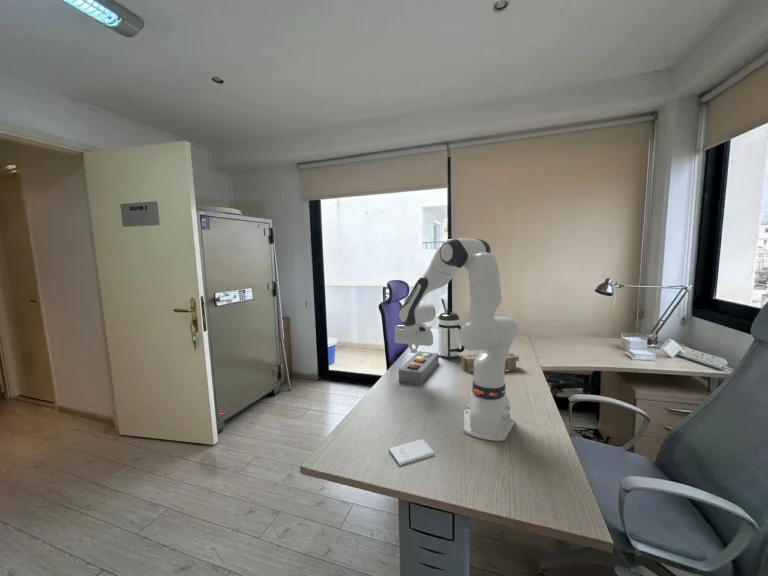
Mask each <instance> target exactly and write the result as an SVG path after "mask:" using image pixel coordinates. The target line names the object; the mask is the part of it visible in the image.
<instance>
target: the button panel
mask: <svg viewBox="0 0 768 576" xmlns="http://www.w3.org/2000/svg"><path fill="white" fill-rule="evenodd" d="M423 353H428V354H430V357H429V358H428V357H424V362H421V363H419V362H417V363H418V368H417V369H411V368H409V363H410V362H416V360H415V357H417V356H421V354H423ZM439 355H440V352H439V353H438V352H429V351H419V350H418V351H417V353H415V354H414V355H413V356H412V357H411V358H410V359H409V360H408V361H407V362H406V363H404V364H403V365H402V366H401V367H400V368H399V369H398V382H401V381H402V383H410V384H415V385H420V384H421V385H422V384H423V383H424V382H425V381H426V380H427V378H428V377H429V376H430V375H431V373H432V372H433V371H434V370H435V368H437V366H438V365H439V364H440V362H439V361H440V360H439V359H440V358H439V357H440V356H439Z"/></svg>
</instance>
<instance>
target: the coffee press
mask: <svg viewBox="0 0 768 576" xmlns="http://www.w3.org/2000/svg"><path fill="white" fill-rule="evenodd" d="M438 315H439V316H438V319H437V320H438V352H437V353H439V357H440V356H441V357H442V356H443V357H447V360H448V361H451V358H453V357H459V358H461V355H462V354H461V353H462V352H464V351H465V350H466V349H465V348H464V347H463V346H462V345H461V348H460V340H459V331H460V328H461V327H462V326H461V325H460V316H459V314H458V313H455V312H452V311H451V309H450V308H447V309H446V312H442V313H440V314H438ZM459 354H460V355H459Z"/></svg>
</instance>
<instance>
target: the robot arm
mask: <svg viewBox="0 0 768 576" xmlns="http://www.w3.org/2000/svg"><path fill="white" fill-rule="evenodd" d="M491 251H492V249H491V247H490V245H489V243H488V242H487V241H486V240H483V239H479V238H469V237H460V238H450V239H449V238H448V239H446V240H445V241H443V242H442V244H441V245H439V246H438V248H437V250H436V251H435V253H434V254H433V257H432V259H431V261H430V263H429V265H428V268H427V269H426V271H425V272H424V273H423V275H422V276H420V277H419V278H418V280H417V281H416V282H415V284H414V286H413V287H412V288H411V291H410V293H409V295H407V296H405V298H404V301H403V304H402V306H401V307H400V308H399V311H398V320H399V321H400V322H401V324H403V325H400V324H397V325H396V326H394V339H393V341H394V342H395V343H396V344H401V345H402V344H405V345H407V346H408V348H409V350H410V353H411V354H417V353H418V348H419V347H420V346H425V347H426V346H427V347H431V346H433V344H434V335H433V334H434V333H433V332H432V330H431V329H432V325H431V324H428V323H430V322H432V321H433V320H434V319H435V318H436V317H435V316H436V308H435V305H433V304H432V303H430V302H427V301H426V300H424V299H423V298H424V297H425V296H426V295H427V294H429V293H431V292H432V291H435V290H438V289H440V288H443V287H445V286H447V285H448V283H449V282H451V280H452V279H453V276H454V274H455V271H456V269H457V268H458V269H460V268H461V269H462V268H465V269H466V270H467V272H468V282H469V283H468V285H469V297H470V301H469V303H470V304H469V309H468V314H467V316H466V320H465V322H464V324H462V326H461V328H460V329H459V343H460V344H461V347H462V346H463V347H464V348H465V349H464V350H468V351H473V352H474V351H475V352H478V351H479V355H478V356H477V358H476V359H475V361H474V369H473V380H472V385H471V388H472V391H471V392H469V393H468V394H469V395H468V396H469V405H467V408H466V409H464V410H463V432H464V433H465V434H467V435H469V436H471V437H474V438H477V439H482V440H485V441H486V440H487V441H495V442H502V441H505V440H506V439H507V437H508V436H509V434H510V433H511V432H510V431H511V430H512V428H513V427H514V425H515V423H516V419H515V418H514V417H512V416H511V409H510V408H511V405H510V402H511V401H510V399H509V398H508V396H507V395H506V389H507V387H506V382H505V371H504V369H505V361H506V357H507V354H508V353H509V350H510V348H511V345H512V344H513V342H515V341H514V340H515V339H516V338H517V337H518V334H519V328H518V325H517V322H516V321H515V320H513V318H510V317H507V316H500V315H499V316H495V315H496V312H497V309H498V307H500V305H501V303H502V288H501V287H502V286H501V278H500V277H501V276H500V272H499V267H498V263H497V259H496V257H495V256H494V254H492V253H491ZM413 345H414V347H415V348H413Z"/></svg>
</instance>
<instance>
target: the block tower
mask: <svg viewBox="0 0 768 576" xmlns="http://www.w3.org/2000/svg"><path fill="white" fill-rule="evenodd" d="M479 354H480V353H479ZM479 354H478V353H477V354H461V355H460V356H461V357H460V359H461V370H463V371H464V372H467V373H474V361H475V359H476V358H477V356H478V355H479ZM519 359H520V357H519V356H518V354H516V353H514V352H508V354H507V357H506V361H505V369H504V372H507V371H506V370H516V371H517V362H519V361H520V360H519Z"/></svg>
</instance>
